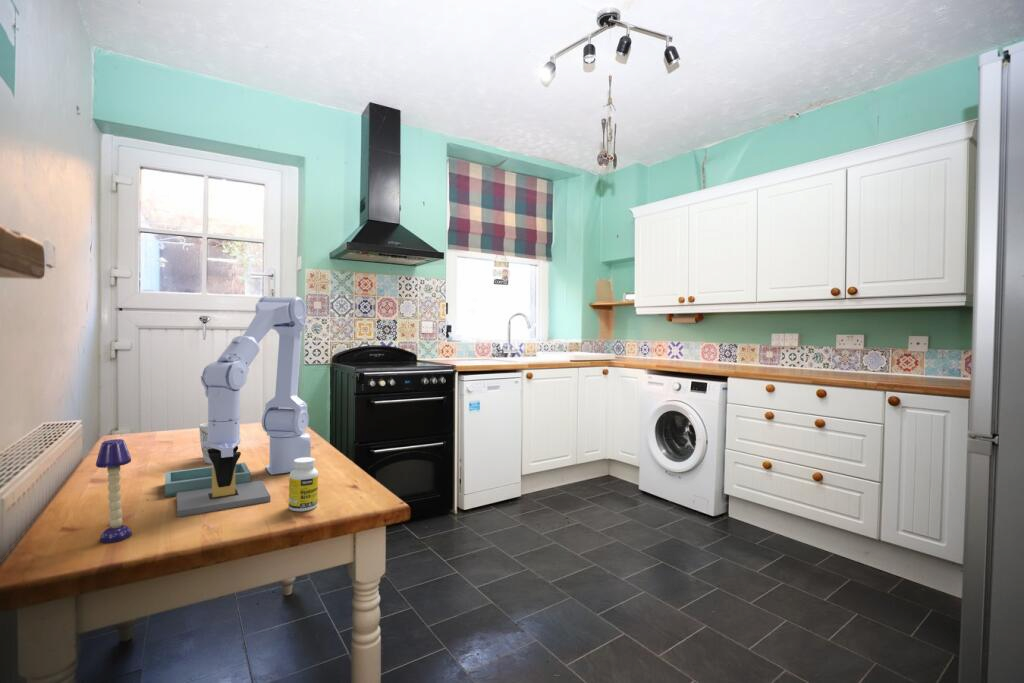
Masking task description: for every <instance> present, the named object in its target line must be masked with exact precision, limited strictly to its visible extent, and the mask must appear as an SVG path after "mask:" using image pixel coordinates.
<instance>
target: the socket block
mask: <svg viewBox="0 0 1024 683" xmlns="http://www.w3.org/2000/svg"><path fill="white" fill-rule="evenodd" d="M267 502H268V503H269V502H271V494H270V492H269V491H268V490H267V488H266V486H265V484H264V482H263V481H262V480H255V481H250V482H247V483H241V484H235V494H231V495H225V496H218V497H213V496H212V488H206V489H199V490H192V491H185V492H178V493H177V496H176V511H177V512H176V514H177V517H178V518H182V517H186V516H193V515H198V514H203V513H204V514H205V513H209V512H215V511H221V510H227V509H234V508H238V507H239V508H240V507H246V506H251V505H258V504H264V503H267Z"/></svg>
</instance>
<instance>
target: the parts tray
mask: <svg viewBox="0 0 1024 683" xmlns="http://www.w3.org/2000/svg"><path fill="white" fill-rule="evenodd" d="M247 482H251V471H250V469H249V467H248V466H247V463H246V462H238V463H236V468H235V484H241V483H247ZM206 488H212V466H205V467H199V468H189V469H181V470H174V471H173V470H172V471H165V473H164V498H170V497H171V498H172V497H175V496H176V497H177V493H178V492H185V491H192V490H199V489H206Z"/></svg>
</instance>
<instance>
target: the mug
mask: <svg viewBox="0 0 1024 683" xmlns="http://www.w3.org/2000/svg"><path fill="white" fill-rule="evenodd" d="M199 440H200V443H201V442H202V441H208V421H207V422H203V423H201V424H199ZM200 447H201V451H202V452H201V453H202V458H203V462H204V463H205V464H211V465H212V461H211V460H210V458H209V453H208V452H207V449H211V447H208V446H201V445H200Z"/></svg>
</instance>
